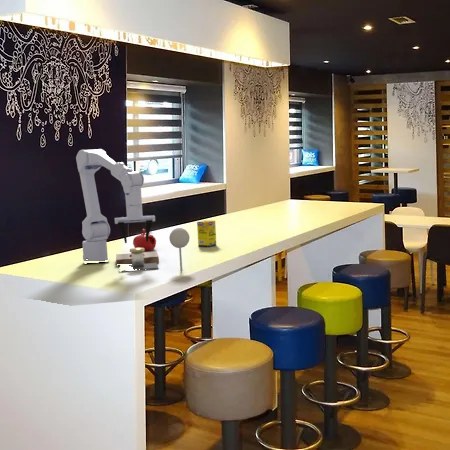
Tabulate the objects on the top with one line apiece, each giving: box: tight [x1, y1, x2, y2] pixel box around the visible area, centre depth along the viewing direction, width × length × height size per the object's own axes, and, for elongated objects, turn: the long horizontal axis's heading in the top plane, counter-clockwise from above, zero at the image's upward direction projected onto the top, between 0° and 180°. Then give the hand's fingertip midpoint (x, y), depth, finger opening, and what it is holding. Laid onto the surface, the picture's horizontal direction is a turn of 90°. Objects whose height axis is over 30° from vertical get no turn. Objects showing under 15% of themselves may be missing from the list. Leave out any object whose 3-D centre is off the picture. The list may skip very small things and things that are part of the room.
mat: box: [129, 263, 159, 271], centre depth 226 cm, size 14×10×1 cm
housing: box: [115, 250, 160, 264], centre depth 238 cm, size 16×12×2 cm
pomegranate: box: [132, 228, 157, 252], centre depth 264 cm, size 10×10×9 cm
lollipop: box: [169, 227, 190, 271], centre depth 218 cm, size 7×7×15 cm
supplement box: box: [196, 220, 217, 248], centre depth 267 cm, size 6×6×11 cm
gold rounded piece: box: [129, 247, 146, 268], centre depth 225 cm, size 5×5×6 cm
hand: (136, 242), depth 224 cm, fingers open, 7 cm apart
